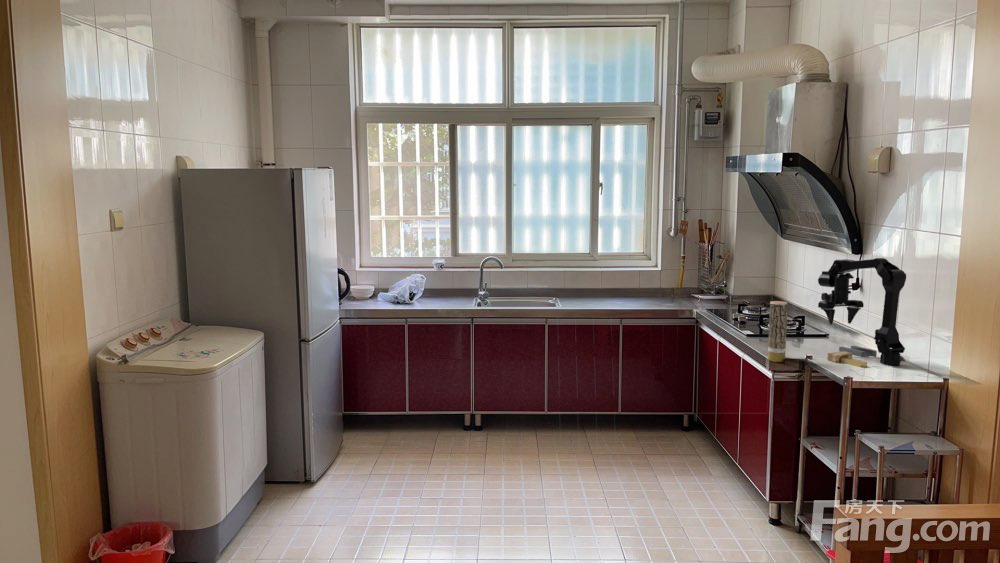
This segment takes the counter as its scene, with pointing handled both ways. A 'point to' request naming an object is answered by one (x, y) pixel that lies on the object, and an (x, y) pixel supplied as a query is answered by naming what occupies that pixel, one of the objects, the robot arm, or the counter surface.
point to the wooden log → (777, 331)
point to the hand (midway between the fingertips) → (840, 324)
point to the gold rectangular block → (852, 361)
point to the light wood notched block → (837, 356)
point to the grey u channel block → (859, 351)
